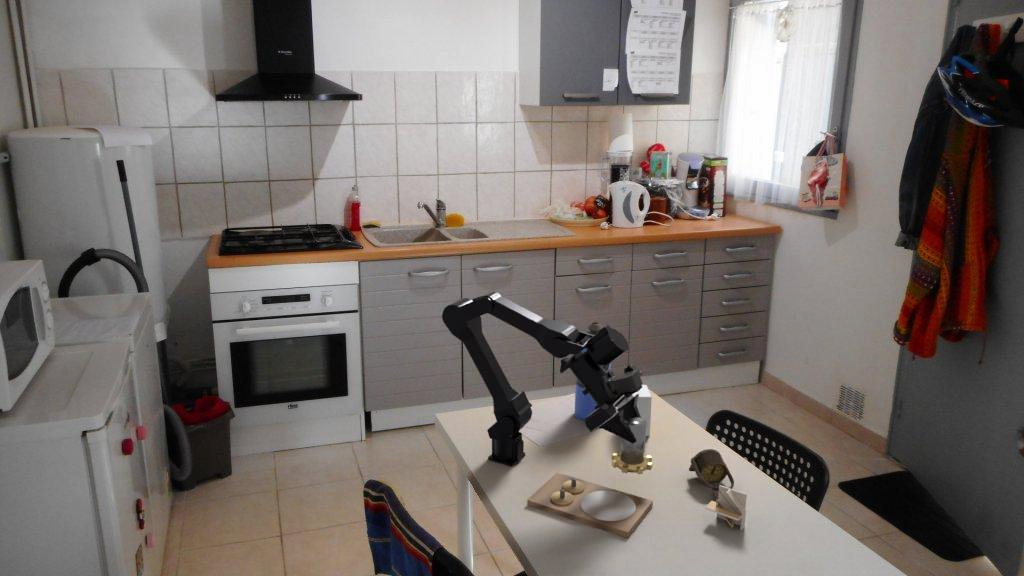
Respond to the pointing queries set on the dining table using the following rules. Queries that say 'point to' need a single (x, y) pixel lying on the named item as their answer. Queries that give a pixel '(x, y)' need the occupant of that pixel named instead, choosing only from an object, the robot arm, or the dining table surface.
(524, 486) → the dining table surface
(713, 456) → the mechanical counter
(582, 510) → the gear board
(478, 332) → the robot arm
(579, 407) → the water bottle
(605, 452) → the dining table surface
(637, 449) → the loose gear
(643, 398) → the small box
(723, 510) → the architectural model
